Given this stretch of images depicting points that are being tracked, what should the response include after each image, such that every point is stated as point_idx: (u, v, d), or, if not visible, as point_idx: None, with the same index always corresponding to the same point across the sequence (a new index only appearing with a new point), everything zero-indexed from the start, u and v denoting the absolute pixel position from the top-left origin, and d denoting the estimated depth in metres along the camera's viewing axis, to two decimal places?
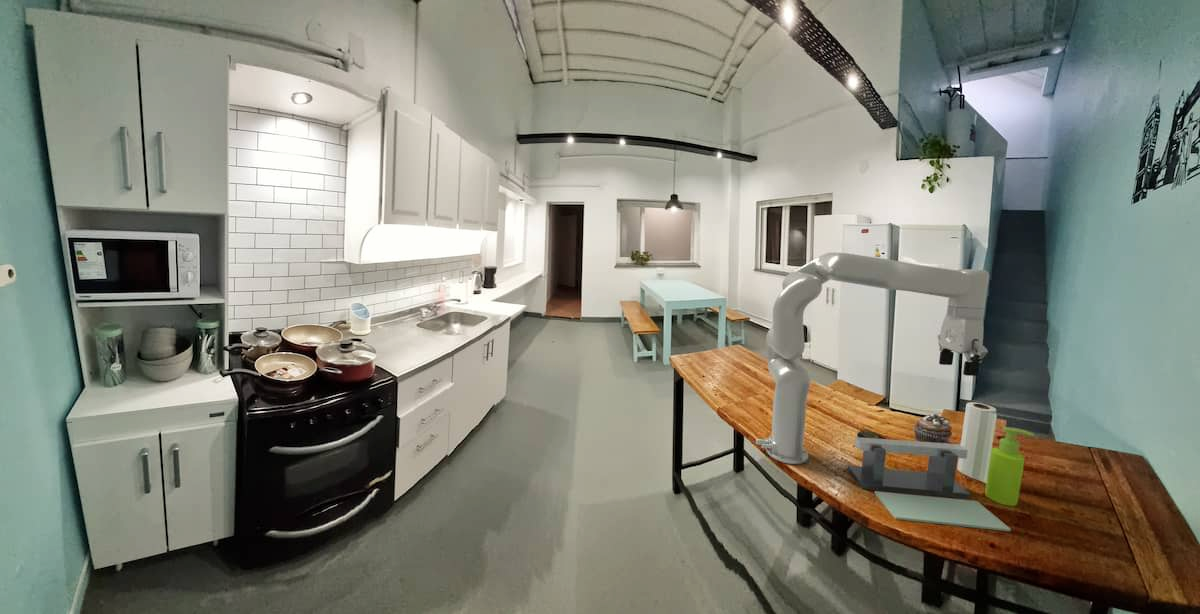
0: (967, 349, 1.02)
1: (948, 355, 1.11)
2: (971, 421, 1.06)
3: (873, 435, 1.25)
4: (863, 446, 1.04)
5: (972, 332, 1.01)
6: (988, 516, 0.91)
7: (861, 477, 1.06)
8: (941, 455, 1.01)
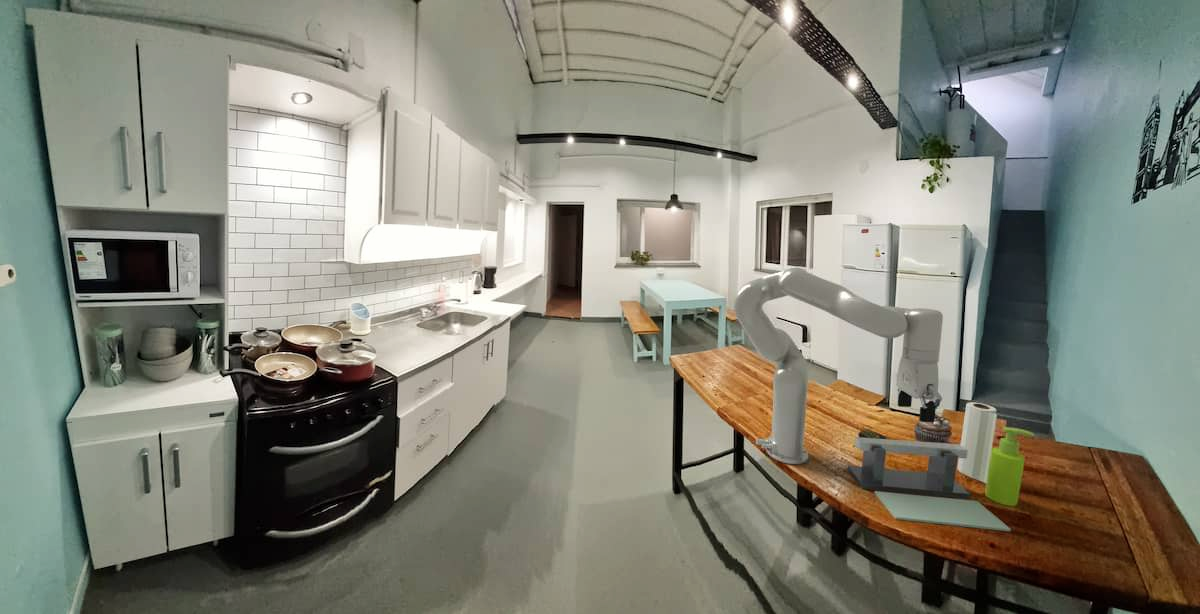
0: (922, 394, 0.96)
1: (906, 397, 1.05)
2: (971, 421, 1.06)
3: (874, 435, 1.25)
4: (863, 446, 1.04)
5: (926, 377, 0.95)
6: (988, 516, 0.91)
7: (861, 477, 1.06)
8: (941, 455, 1.01)
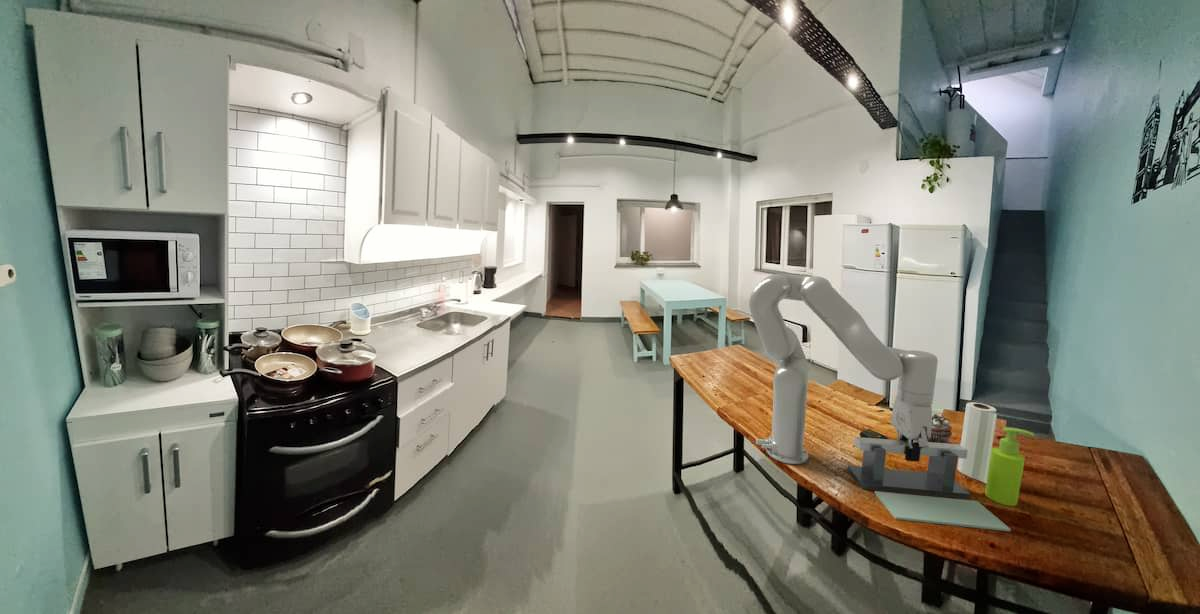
0: (915, 436, 0.98)
1: None
2: (971, 421, 1.06)
3: (876, 435, 1.25)
4: (863, 446, 1.04)
5: (920, 419, 0.97)
6: (988, 516, 0.91)
7: (861, 477, 1.06)
8: (941, 455, 1.01)
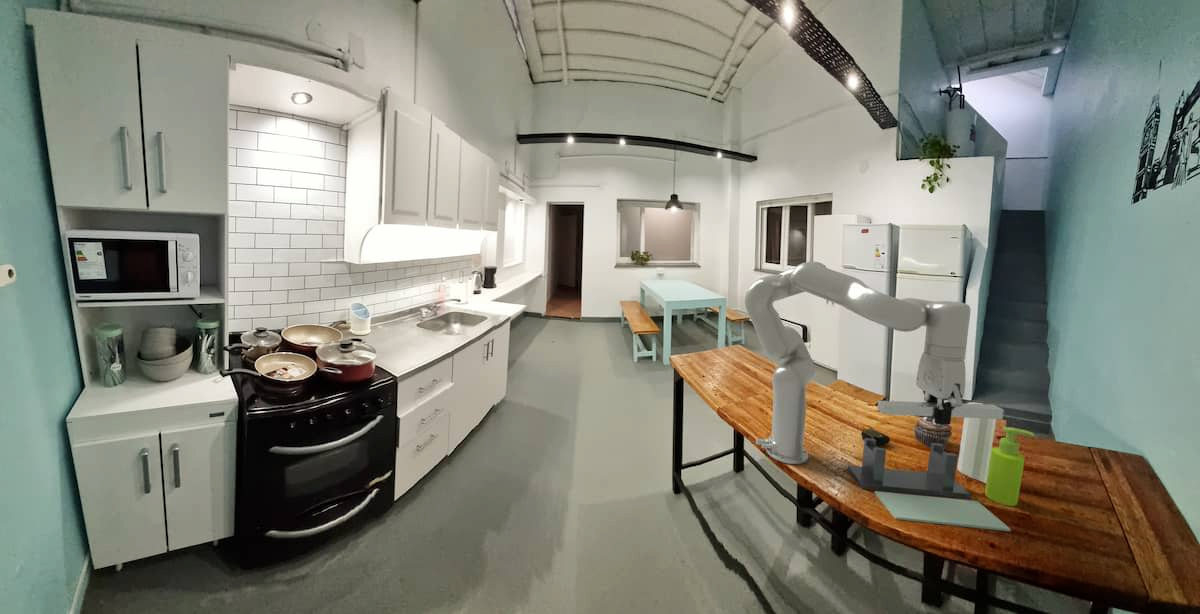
0: (947, 395, 0.88)
1: None
2: (971, 421, 1.06)
3: (877, 434, 1.26)
4: (888, 409, 0.94)
5: (953, 375, 0.87)
6: (988, 516, 0.91)
7: (861, 477, 1.06)
8: (974, 416, 0.91)
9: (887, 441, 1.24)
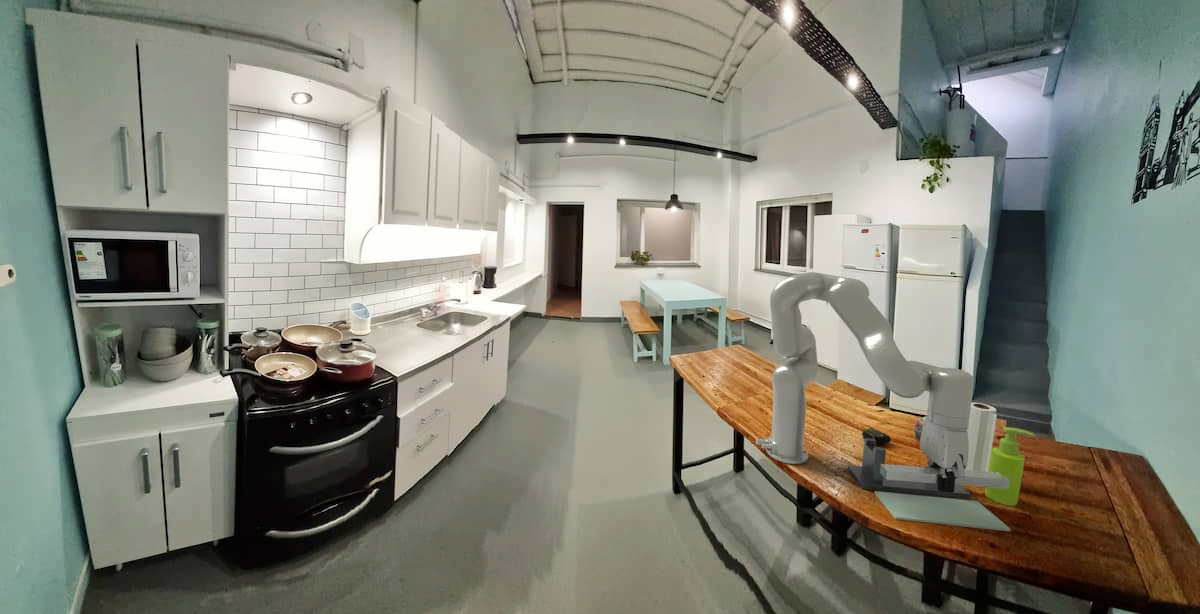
0: (950, 465, 0.87)
1: None
2: (971, 421, 1.06)
3: (878, 434, 1.26)
4: (891, 474, 0.93)
5: (955, 446, 0.86)
6: (988, 516, 0.91)
7: (861, 477, 1.06)
8: (979, 485, 0.90)
9: (888, 441, 1.25)
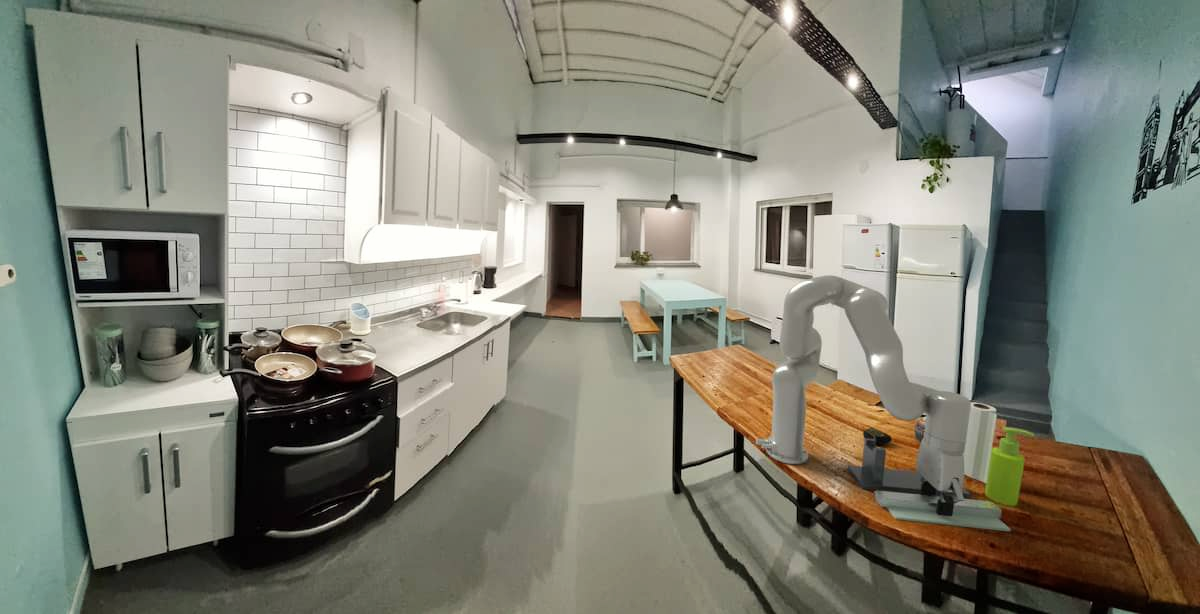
0: (946, 488, 0.88)
1: (930, 489, 0.96)
2: (971, 421, 1.06)
3: (879, 433, 1.26)
4: (885, 501, 0.95)
5: (951, 469, 0.87)
6: None
7: (861, 477, 1.06)
8: (972, 514, 0.91)
9: (889, 440, 1.25)
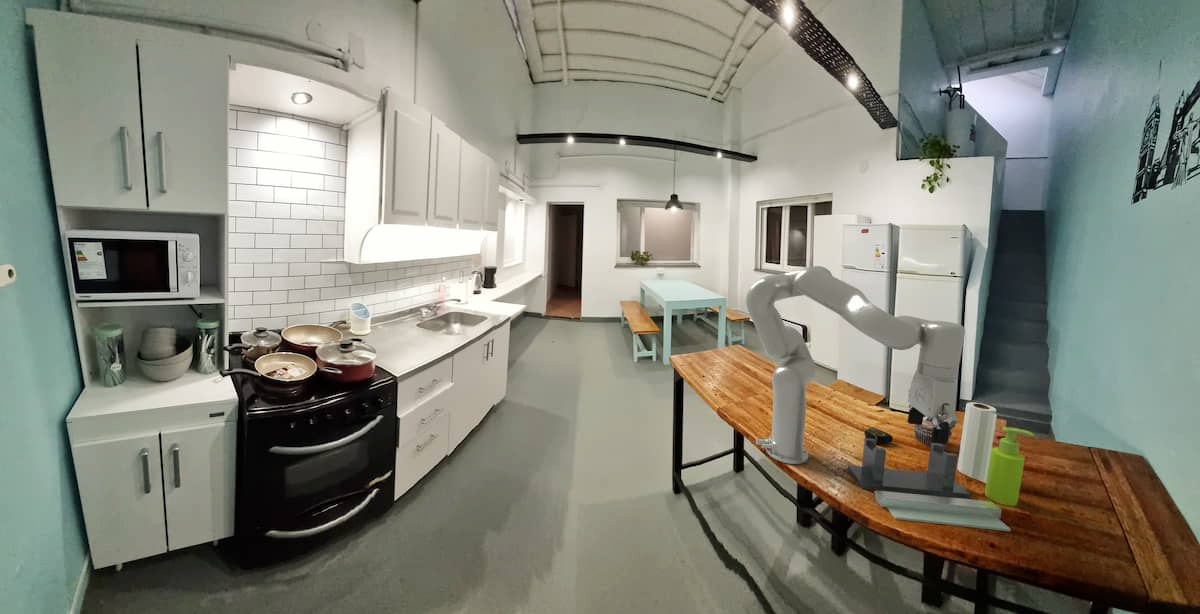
0: (936, 414, 0.89)
1: (917, 414, 0.99)
2: (971, 421, 1.06)
3: (880, 433, 1.26)
4: (885, 501, 0.95)
5: (942, 395, 0.88)
6: None
7: (861, 477, 1.06)
8: (972, 514, 0.91)
9: (890, 440, 1.25)
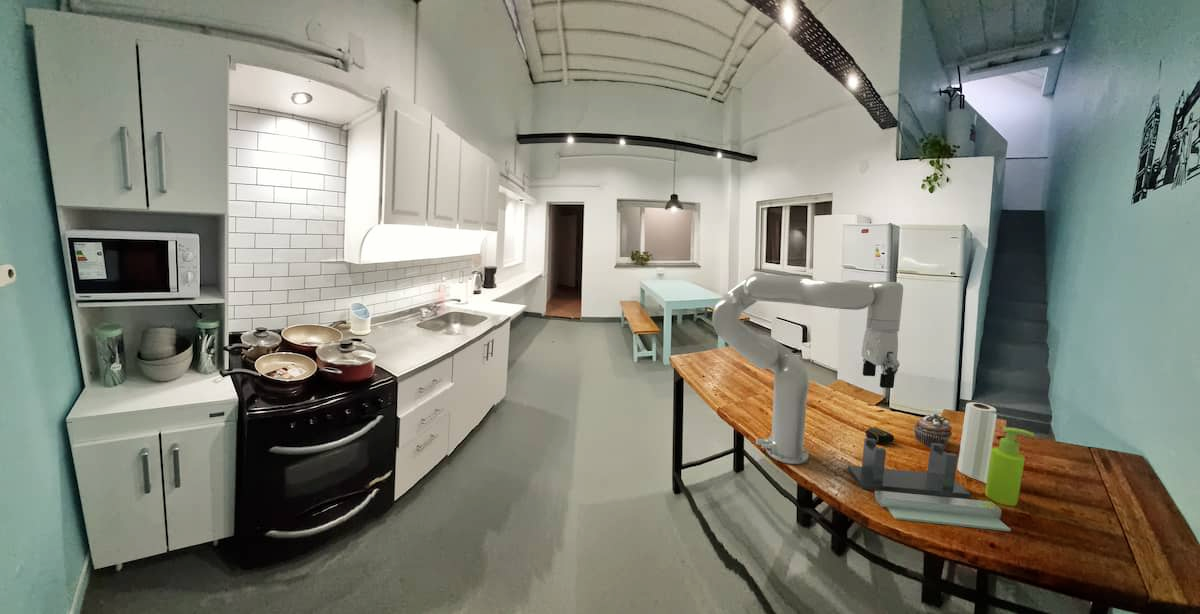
0: (882, 361, 1.02)
1: (870, 366, 1.12)
2: (971, 421, 1.06)
3: (881, 433, 1.27)
4: (885, 501, 0.95)
5: (887, 345, 1.01)
6: None
7: (861, 477, 1.06)
8: (972, 514, 0.91)
9: (891, 439, 1.25)
